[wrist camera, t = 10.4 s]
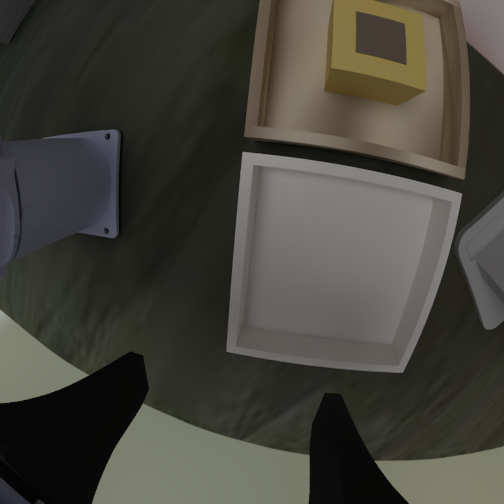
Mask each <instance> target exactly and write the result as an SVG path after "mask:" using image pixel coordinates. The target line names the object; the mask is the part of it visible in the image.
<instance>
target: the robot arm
mask: <svg viewBox="0 0 504 504" xmlns="http://www.w3.org/2000/svg"><path fill="white" fill-rule="evenodd" d="M109 134H110V139H108V135H109ZM120 142H121V133H120V131H119V130H115V129H112V130H100V131H90V132H81V133H73V134H66V135H59V136H52V137H46V138H42V139H31V140H18V141H8V142H2V137H1V135H0V278H2V277H4V276H5V275H6V268H7V265H8V264H9V263H11V262H13V261H15V260H17V259H19V258H21V257H24V256H26V255H28V254H30V253H32V252H34V251H36V250H38V249H40V248H43V247H45V246H47V245H49V244H51V243H54V242H56V241H58V240H60V239H63V238H65V237H67V236H70V235H72V234H74V233H77V232H78V233H84V234H90V235H96V236H102V237H108V238H115V237H117V236H118V235H119V160H120ZM107 228H108V230H109V233H108V232H107ZM148 390H149V386H148V381H147V376H146V370H145V364H144V358H143V355H140V354H137V353H134V352H131V351H130V352H129V353H127V354H125V355H123V356H122V357H120V358H118V359H117V360H115V361H113V362H112V363H110V364H108V365H107V366H105V367H103V368H102V369H100V370H98V371H96V372H95V373H93V374H91V375H89V376H87V377H85V378H83V379H81V380H80V381H77V382H75V383H73V384H71V385H69V386H67V387H65V388H62V389H60V390H57V391H55V392H52V393H49V394H46V395H43V396H40V397H35V398H32V399H28V400H23V401H17V402H10V403H0V504H92V501H93V498H94V495H95V492H96V489H97V487H98V484H99V481H100V479H101V476H102V474H103V471H104V469H105V467H106V465H107V463H108V460H109V458H110V456H111V454H112V452H113V450H114V448H115V447H116V445H117V443H118V442H119V440H120V438H121V437H122V436H123V434H124V433H125V431H126V430H127V428H128V426H129V425H130V423H131V422H132V420H133V419H134V417H135V416H136V414H137V413H138V411H139V409H140V408H141V406H142V404H143V401H144V399H145V397H146V395H147V393H148ZM309 504H409V503H408V502H407V501H406V500H405V499H404V498H403V497H402V496H401V495H400V494H399V492H397V490H396V489H395V488H394V487H393V486H392V485H391V484H390V482H389V481H388V480H387V478H386V477H385V476H384V474H383V473H382V471H381V470H380V469H379V468H378V466H377V464H376V463H375V461H374V460H373V458H372V456H371V455H370V453H369V451H368V450H367V448H366V446H365V444H364V442H363V441H362V439H361V437H360V435H359V433H358V431H357V429H356V427H355V425H354V423H353V420H352V418H351V416H350V414H349V412H348V409H347V407H346V404H345V402H344V400H343V397H342V395H341V394H333V393H325V394H324V396H323V399H322V401H321V404H320V406H319V409H318V411H317V414H316V416H315V418H314V421H313V423H312V430H311V439H310V494H309Z"/></svg>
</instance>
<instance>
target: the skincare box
mask: <svg viewBox="0 0 504 504" xmlns="http://www.w3.org/2000/svg"><path fill="white" fill-rule="evenodd" d="M34 2H35V0H0V43H3V44H9V43H10V41H11V39H12V37H13V35H14V34H15V32H16V30H17V29H18V27H19V25H20V24H21V22H22V20H23V19H24V17H25V16H26V14H27V13H28V11H29V10H30V8H31V7H32V5H33V4H34Z"/></svg>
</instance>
